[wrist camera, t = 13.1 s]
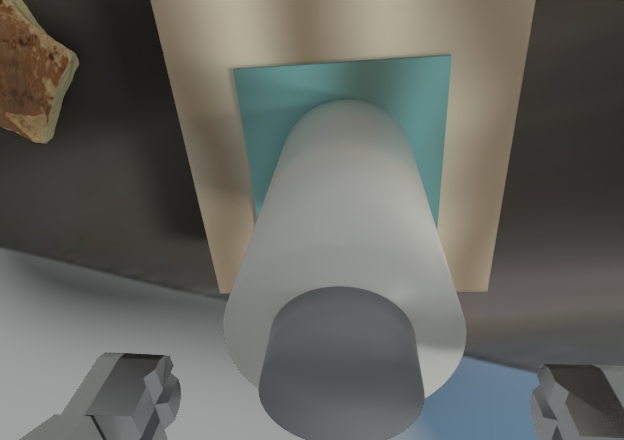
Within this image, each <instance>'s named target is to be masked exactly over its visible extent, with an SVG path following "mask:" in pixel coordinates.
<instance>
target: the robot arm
mask: <svg viewBox="0 0 624 440" xmlns="http://www.w3.org/2000/svg"><path fill="white" fill-rule="evenodd" d="M172 368H173V364H172V361H171V358H170V356H166V355H149V354H130V353H104V354H103V355H101V356H100V357H99V358H98V359H97V360H96V362H95V364H94V365H93V366H92V368H91V370H90V371H89V373H88V374H87V376H86V377H85V379H84V380H83V382H82V383H81V385H80V386H79V388H78V389H77V391H76V392H75V394H74V396H73V397H72V399H71V400H70V402H69V403H68V405H67V406H66V408H65V409H64V411H63V412H62V414H61V415H53V416H52V417H51V418H50V419H48V420H46V421H45V422H44V423H42V424H41V425H39V426H38V427H37V428H35V429H34V430H32V431H31V432H30V433H28V434H27V435H25V436H24V437H23V438H21V439H19V440H167V436H166V433H165V430H164V429H165V428H166V427H168V426H169V425H170V424H171V423H172V422H173V421H174V420H175V418H176V415H177V413H178V410H179V406H180V400H181V388H180V383H179V380H178V378H176V377H175V376H174V375H173V374H171V370H172ZM537 377H538V380H539V382H540V385H539V386H538V387H537V388H535V389H534V390H533V392H532V396H531V401H530V402H531V416H532V421H533V425H534V428H535V431H536V434H537V437H539V438H540V439H541V440H624V367H623V366H603V365H595V366H593V365H567V364H543V365H542V366H541V367H540V368H539V371H538V374H537Z"/></svg>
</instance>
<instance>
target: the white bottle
mask: <svg viewBox="0 0 624 440" xmlns="http://www.w3.org/2000/svg"><path fill="white" fill-rule="evenodd" d="M223 334H224V341H225V344H226V347H227V350H228V353H229V355H230V357H231V358H232V360H233V362H234V364H235V365H236V367H237V368H238V370H239V371H240V372H241V373H242V374H243V376H244V377H245V378H246V379H247V380H248V381H249V382H250V383H252V384H253V385H254V386H255V387H257V388H258V389H259V397H260V400H261V403H262V405H263V407H264V409H265V411H266V412H267V413H268V415H269V416H270V417H271V418H272V419H273V420H274V421H275V422H276V423H277V424H278V425H280V426H281V427H282V428H284V429H285V430H287V431H288V432H290V433H292V434H294V435H296V436H298V437H300V438H303V439H305V440H388V439H390V438H392V437H394V436H396V435H398V434H400V433H402V432H403V431H405V430H406V429H407V428H408V427H410V426H411V425H412V424H413V423H414V421H415V420H416V419H417V418H418V416H419V415H420V413H421V410H422V408H423V405H424V400H425V398H426V397H428V396H429V395H431V394H432V393H434V392H435V391H436V390H437V389H439V388H440V387H441V386H442V385H443V384H444V383H445V382H446V381H447V380H448V379H449V378H450V376H451V375H452V374H453V372H454V371H455V369H456V368H457V366H458V364H459V362H460V360H461V358H462V356H463V352H464V348H465V344H466V325H465V319H464V315H463V312H462V309H461V306H460V303H459V299H458V296H457V293H456V290H455V287H454V283H453V280H452V277H451V274H450V270H449V267H448V264H447V261H446V258H445V254H444V251H443V248H442V245H441V242H440V238H439V235H438V232H437V229H436V226H435V222H434V219H433V216H432V213H431V209H430V206H429V203H428V200H427V197H426V193H425V190H424V187H423V184H422V181H421V177H420V174H419V171H418V168H417V165H416V161H415V158H414V155H413V152H412V148H411V145H410V142H409V139H408V137H407V135H406V133H405V131H404V129H403V128H402V126H401V125H400V123H399V122H398V121H397V120H396V119H395V118H394V117H393V116H392V115H391V114H390V113H388V112H387V111H386V110H384V109H382V108H381V107H379V106H376V105H374V104H372V103H369V102H365V101H361V100H354V99H341V100H334V101H330V102H326V103H324V104H321V105H319V106H317V107H315V108H313V109H311V110H310V111H308V112H307V113H306V114H304V115H303V116H302V117H301V118H300V119H299V120H298V121H297V122H296V123H295V125H294V126H293V127H292V129H291V130H290V132H289V134H288V136H287V138H286V141H285V144H284V146H283V149H282V152H281V155H280V158H279V160H278V163H277V166H276V169H275V171H274V174H273V177H272V180H271V183H270V185H269V188H268V191H267V194H266V197H265V199H264V202H263V205H262V208H261V211H260V213H259V216H258V219H257V222H256V224H255V227H254V230H253V233H252V236H251V238H250V241H249V244H248V247H247V250H246V252H245V255H244V258H243V261H242V263H241V266H240V269H239V272H238V275H237V277H236V280H235V283H234V286H233V289H232V291H231V294H230V297H229V300H228V303H227V305H226V308H225V313H224V318H223Z"/></svg>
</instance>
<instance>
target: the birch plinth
mask: <svg viewBox="0 0 624 440" xmlns="http://www.w3.org/2000/svg"><path fill="white" fill-rule="evenodd" d="M535 1H536V0H151V4H152V8H153V13H154V17H155V21H156V25H157V29H158V34H159V38H160V42H161V46H162V50H163V55H164V59H165V63H166V67H167V71H168V76H169V80H170V84H171V88H172V92H173V97H174V101H175V105H176V109H177V113H178V118H179V122H180V126H181V130H182V134H183V139H184V143H185V147H186V151H187V155H188V160H189V164H190V168H191V172H192V176H193V181H194V185H195V189H196V193H197V197H198V202H199V206H200V210H201V214H202V219H203V223H204V227H205V231H206V235H207V240H208V244H209V248H210V252H211V256H212V261H213V265H214V269H215V273H216V277H217V282H218V286H219V290H220V293H231V291H232V289H233V286H234V283H235V280H236V277H237V275H238V272H239V269H240V266H241V263H242V261H243V258H244V255H245V252H246V250H247V247H248V244H249V241H250V238H251V236H252V233H253V230H254V227H255V224H256V222H257V219H258V216H259V213H260V211H261V208H262V205H263V202H264V199H265V197H266V194H267V191H268V188H269V185H270V183H271V180H272V177H273V174H274V171H275V169H276V166H277V163H278V160H279V158H280V155H281V152H282V149H283V146H284V144H285V141H286V138H287V136H288V134H289V132H290V130H291V129H292V127H293V126H294V125H295V123H296V122H297V121H298V120H299V119H300V118H301V117H302V116H303V115H304V114H306V113H307V112H308V111H310V110H311V109H313V108H315V107H317V106H319V105H321V104H324V103H326V102H330V101H334V100H341V99H354V100H361V101H365V102H369V103H372V104H374V105H376V106H379V107H381V108H382V109H384V110H386V111H387V112H388V113H390V114H391V115H392V116H393V117H394V118H395V119H396V120H397V121H398V122H399V123H400V125H401V126H402V128H403V129H404V131H405V133H406V135H407V137H408V139H409V142H410V145H411V148H412V152H413V155H414V158H415V161H416V165H417V168H418V171H419V174H420V177H421V181H422V184H423V187H424V190H425V193H426V197H427V200H428V203H429V206H430V209H431V213H432V216H433V219H434V222H435V226H436V229H437V232H438V235H439V238H440V242H441V245H442V248H443V251H444V254H445V258H446V261H447V264H448V267H449V270H450V274H451V277H452V280H453V283H454V287H455V290H456V292H462V291H487V289H488V283H489V277H490V271H491V265H492V259H493V253H494V247H495V241H496V235H497V229H498V223H499V217H500V211H501V205H502V199H503V193H504V187H505V181H506V175H507V169H508V163H509V157H510V151H511V145H512V139H513V133H514V127H515V121H516V115H517V109H518V103H519V97H520V91H521V85H522V79H523V73H524V67H525V61H526V55H527V49H528V43H529V37H530V31H531V25H532V19H533V13H534V7H535Z"/></svg>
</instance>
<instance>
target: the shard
mask: <svg viewBox="0 0 624 440" xmlns="http://www.w3.org/2000/svg"><path fill="white" fill-rule="evenodd" d="M78 66H79V61H78V58H77V55H76V54H75V53H74V52H73V51H71V50H70V49H68V48H66V47H65V46H64V45H62V44H60V43H59V42H57V41H55V40H54V39H53V38H52V37H50V36H49V35H47V34H46V32H45V31H44V30H43V28H42V27H41V26H40V25H39V24H38V23H37V21H36V19H35V18H34V17H33V15H32V14H31V12H30V11H29V9H28V8H27V6H26V5H25V3H24V2H23V1H22V0H0V126H1V127H3V128H5V129H7V130H12V131H14V132H16V133H18V134H20V135H21V136H24V137H25V138H27V139H29V140H31V141H33V142H38V143H47V142H48V141H50V140H51V139H52V138H53V135H54V132H55V126H56V124H57V120H58V117H59V113H60V109H61V105H62V102H63V97H64V95H65V93H66V91H67V89H68V88H69V86H70V84H71V82H72V80H73V76H74V73H75V71H76V69H77V67H78Z"/></svg>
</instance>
